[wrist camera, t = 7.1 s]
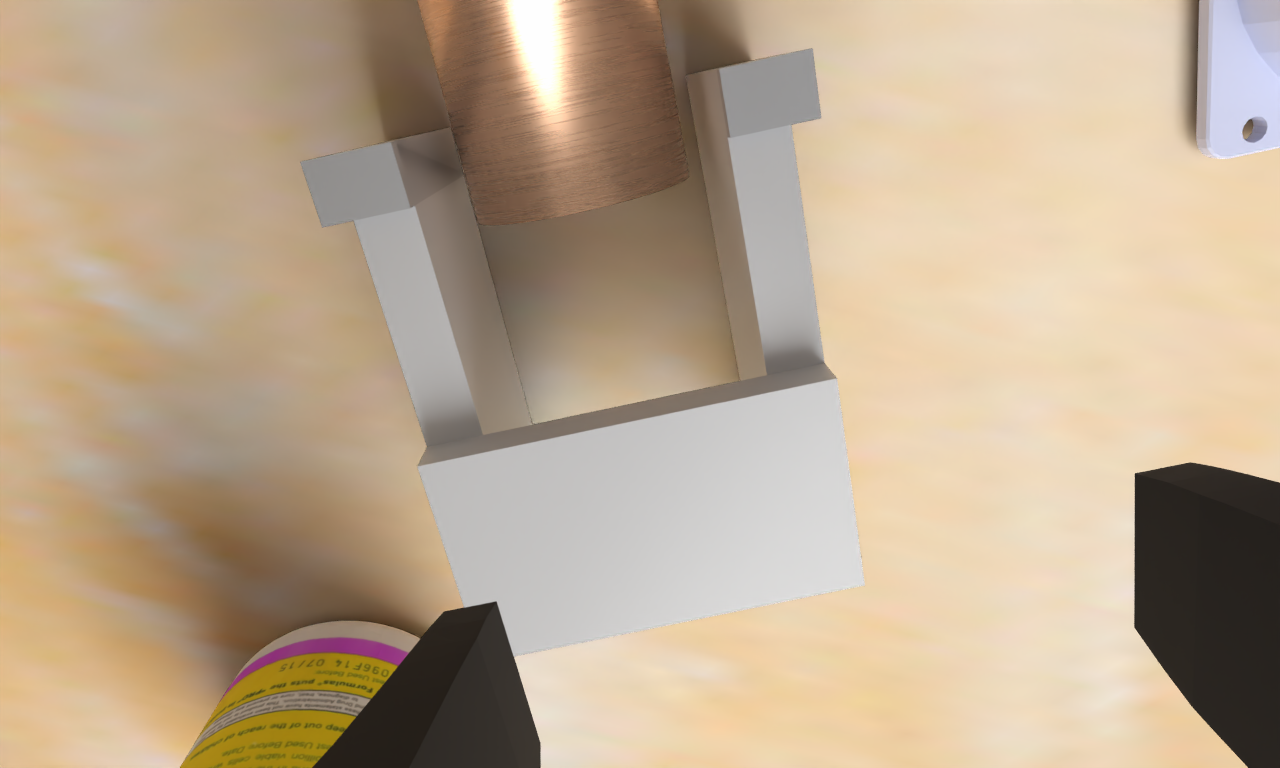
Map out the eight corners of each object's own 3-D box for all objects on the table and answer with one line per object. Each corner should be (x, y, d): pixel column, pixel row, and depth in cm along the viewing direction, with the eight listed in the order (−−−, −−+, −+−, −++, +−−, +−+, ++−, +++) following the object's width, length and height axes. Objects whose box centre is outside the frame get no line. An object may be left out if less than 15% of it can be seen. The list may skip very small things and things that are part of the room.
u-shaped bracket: (751, 60, 17) (820, 46, 12) (810, 449, 20) (886, 581, 15) (385, 141, 17) (287, 165, 12) (498, 514, 20) (461, 667, 15)
